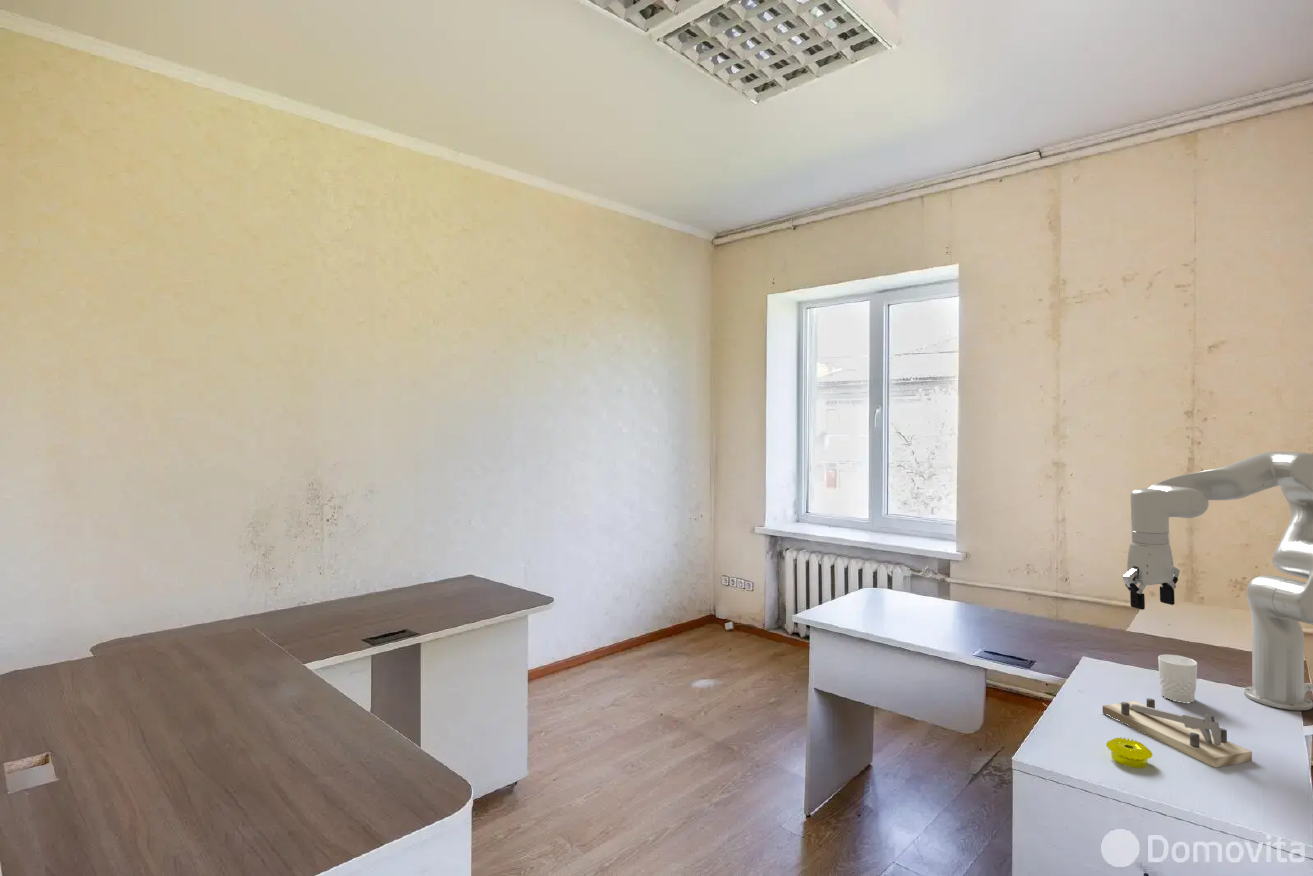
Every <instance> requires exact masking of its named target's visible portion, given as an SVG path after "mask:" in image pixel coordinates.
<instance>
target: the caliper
mask: <svg viewBox="0 0 1313 876" xmlns="http://www.w3.org/2000/svg"><path fill="white" fill-rule="evenodd" d="M1146 706H1147V705H1146ZM1146 706H1142V705H1137V704H1132V705H1130V706H1129V708H1133V711H1137V712H1141V713H1145V714H1149V715H1153V716H1157V717H1161V718H1165V719H1169V720H1173V721H1177V722H1181V723H1184V725H1185V727H1186V728H1191V729H1197V728H1198V729H1200V730H1201V733H1202V735H1203V737H1204V739H1205V741H1206V742H1207V743H1208V744H1212V740H1211V735H1210V733H1211V734H1212V736H1213V740H1214V744H1215V746H1218V745H1221V731H1220V728H1221V727H1220V725H1219V724H1220V723H1219V722H1218V721H1216V720H1215V716H1214V715H1209V714H1204V715H1203V717H1199V716H1195V715H1191V714H1179V713H1175V712H1171V711H1165V710H1162V709H1158V708H1155V709H1154V708H1150V707H1146Z"/></svg>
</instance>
